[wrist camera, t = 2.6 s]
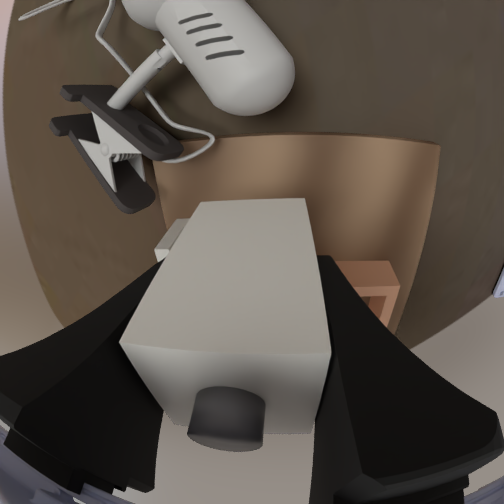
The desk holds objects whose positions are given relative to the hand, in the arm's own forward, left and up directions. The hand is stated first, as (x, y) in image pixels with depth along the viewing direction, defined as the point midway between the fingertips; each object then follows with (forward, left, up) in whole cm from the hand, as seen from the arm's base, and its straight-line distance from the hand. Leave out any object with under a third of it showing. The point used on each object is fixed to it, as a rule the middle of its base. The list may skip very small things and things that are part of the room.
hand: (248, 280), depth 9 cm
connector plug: (0, 0, -3) cm, 3 cm away
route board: (-2, +4, -8) cm, 9 cm away
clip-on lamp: (+6, -11, -8) cm, 15 cm away
